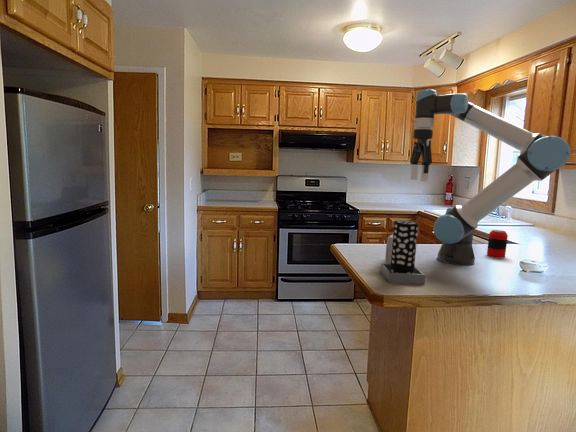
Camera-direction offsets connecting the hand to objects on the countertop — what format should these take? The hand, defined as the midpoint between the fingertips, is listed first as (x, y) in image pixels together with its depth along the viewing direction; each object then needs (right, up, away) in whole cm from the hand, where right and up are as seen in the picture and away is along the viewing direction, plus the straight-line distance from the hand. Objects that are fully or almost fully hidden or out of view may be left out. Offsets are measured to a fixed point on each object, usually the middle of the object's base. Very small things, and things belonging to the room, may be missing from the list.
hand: (418, 180), depth 160 cm
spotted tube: (-14, -37, -21) cm, 45 cm away
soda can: (+43, -34, +19) cm, 58 cm away
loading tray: (-14, -38, -21) cm, 46 cm away
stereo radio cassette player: (-8, -36, -3) cm, 37 cm away
